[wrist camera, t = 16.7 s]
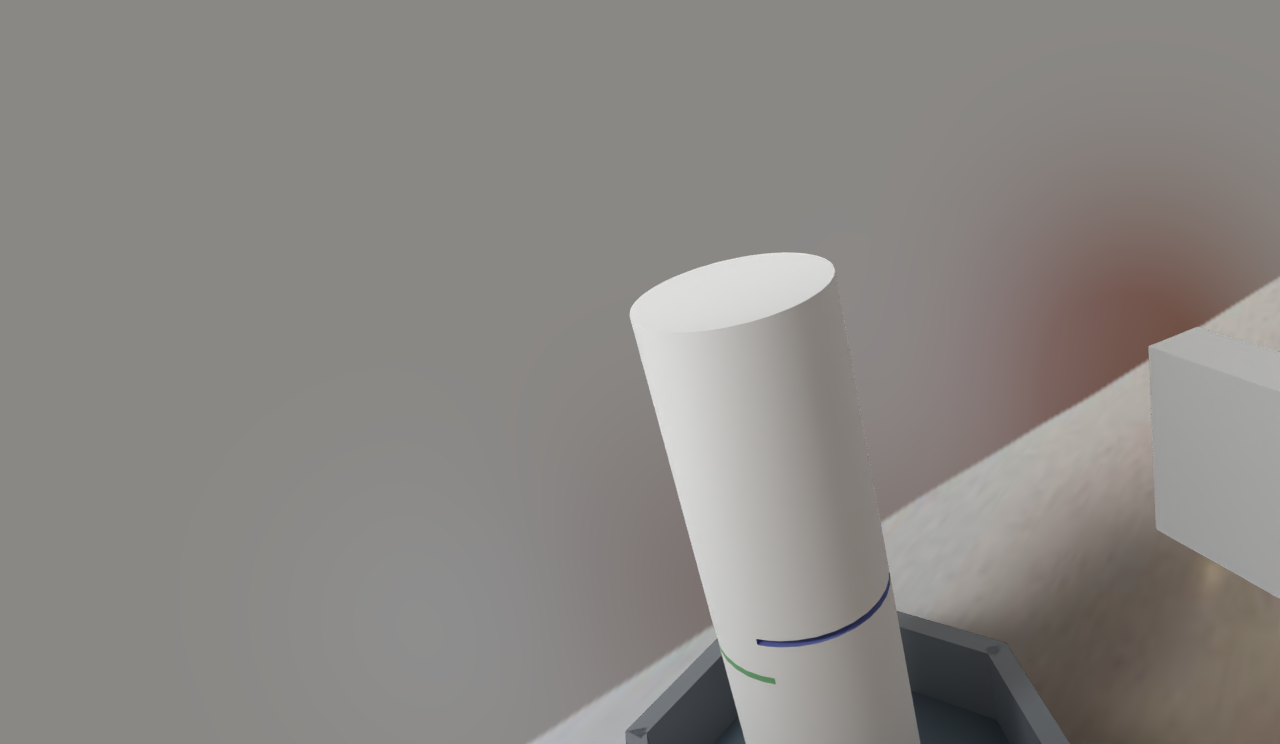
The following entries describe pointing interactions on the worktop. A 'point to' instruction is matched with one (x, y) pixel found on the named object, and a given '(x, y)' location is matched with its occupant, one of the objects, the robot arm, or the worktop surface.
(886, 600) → the cylindrical container
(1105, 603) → the worktop surface
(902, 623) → the bowl
